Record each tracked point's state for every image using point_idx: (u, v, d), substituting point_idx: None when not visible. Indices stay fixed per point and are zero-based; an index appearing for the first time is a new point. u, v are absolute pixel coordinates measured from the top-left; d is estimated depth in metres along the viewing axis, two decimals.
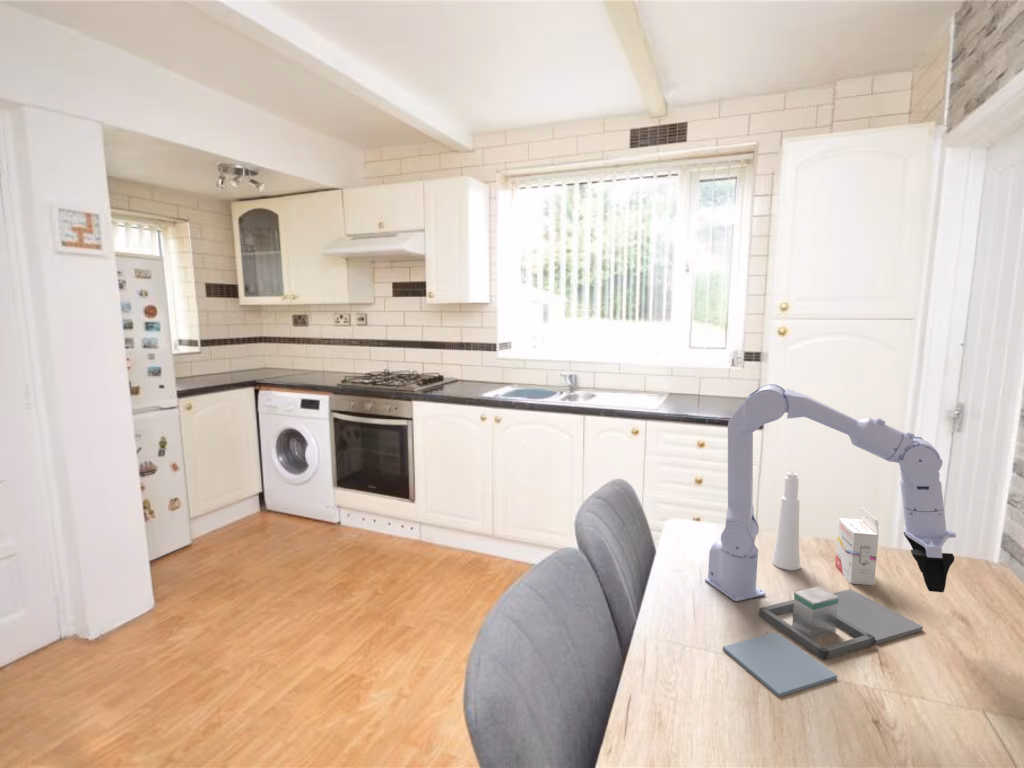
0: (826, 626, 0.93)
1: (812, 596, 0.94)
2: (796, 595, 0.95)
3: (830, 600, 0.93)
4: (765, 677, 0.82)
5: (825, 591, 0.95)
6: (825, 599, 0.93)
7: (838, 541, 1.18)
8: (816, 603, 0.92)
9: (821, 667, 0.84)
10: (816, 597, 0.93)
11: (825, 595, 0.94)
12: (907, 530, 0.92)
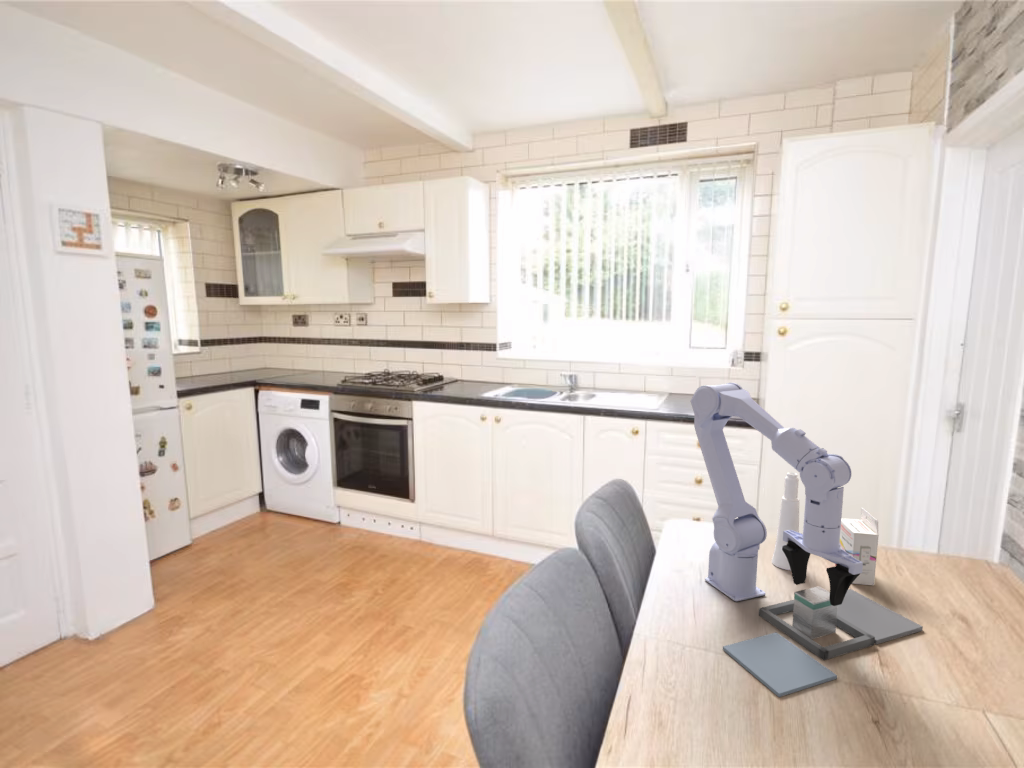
0: (826, 626, 0.93)
1: (812, 596, 0.94)
2: (796, 595, 0.95)
3: None
4: (765, 677, 0.82)
5: (825, 591, 0.95)
6: (825, 599, 0.93)
7: None
8: (816, 603, 0.92)
9: (821, 667, 0.84)
10: (816, 597, 0.93)
11: (825, 595, 0.94)
12: (813, 548, 0.91)
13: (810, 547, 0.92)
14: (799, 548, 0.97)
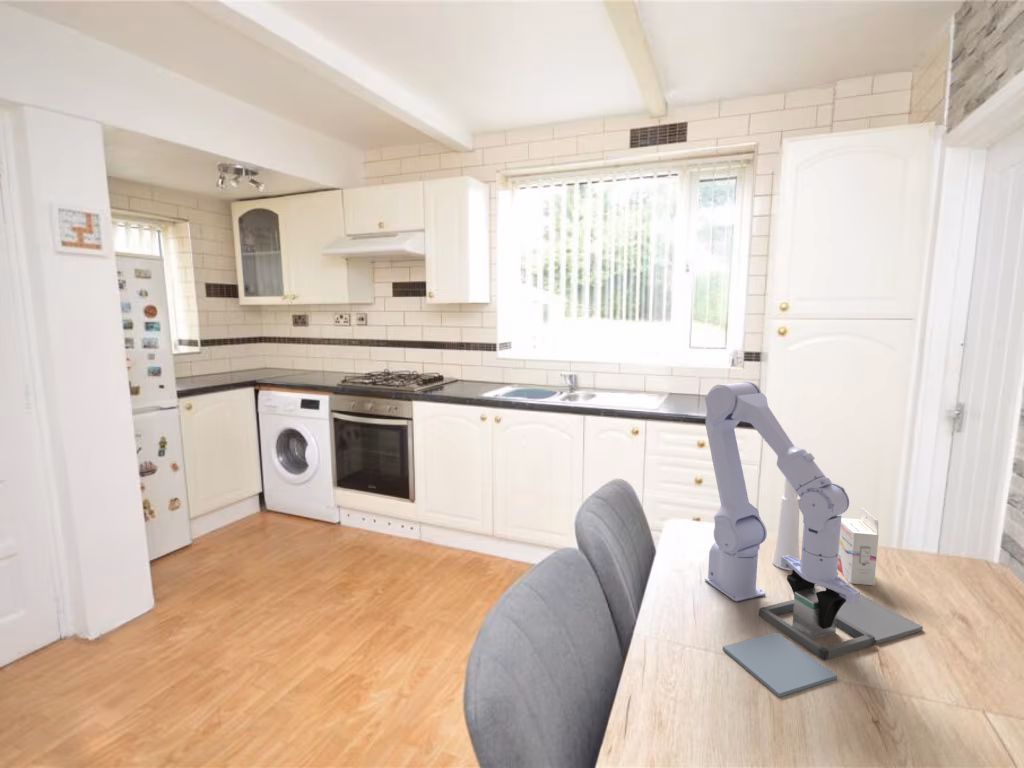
0: None
1: (812, 595, 0.94)
2: (796, 595, 0.95)
3: None
4: (765, 677, 0.82)
5: None
6: None
7: None
8: (816, 603, 0.92)
9: (821, 667, 0.84)
10: (816, 597, 0.93)
11: None
12: (811, 576, 0.92)
13: (808, 575, 0.92)
14: (804, 578, 0.96)
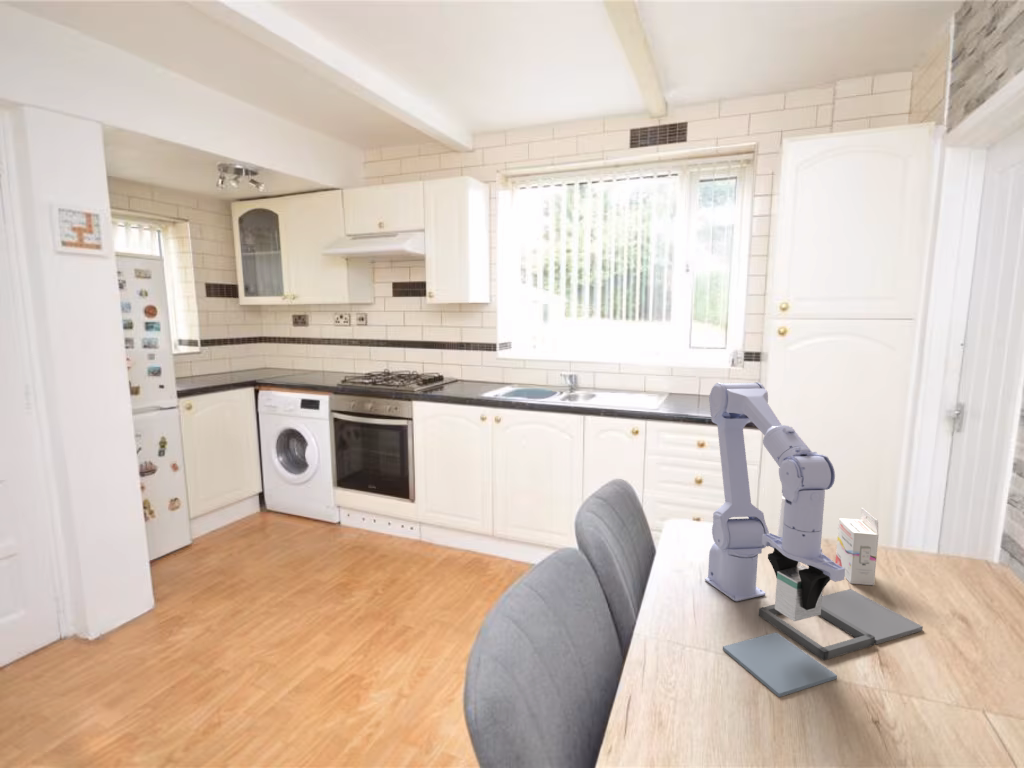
0: None
1: (796, 575, 0.87)
2: (779, 574, 0.88)
3: None
4: (765, 677, 0.82)
5: None
6: None
7: (838, 541, 1.18)
8: (800, 582, 0.85)
9: (821, 667, 0.84)
10: None
11: None
12: (793, 553, 0.85)
13: (790, 552, 0.86)
14: (786, 556, 0.89)
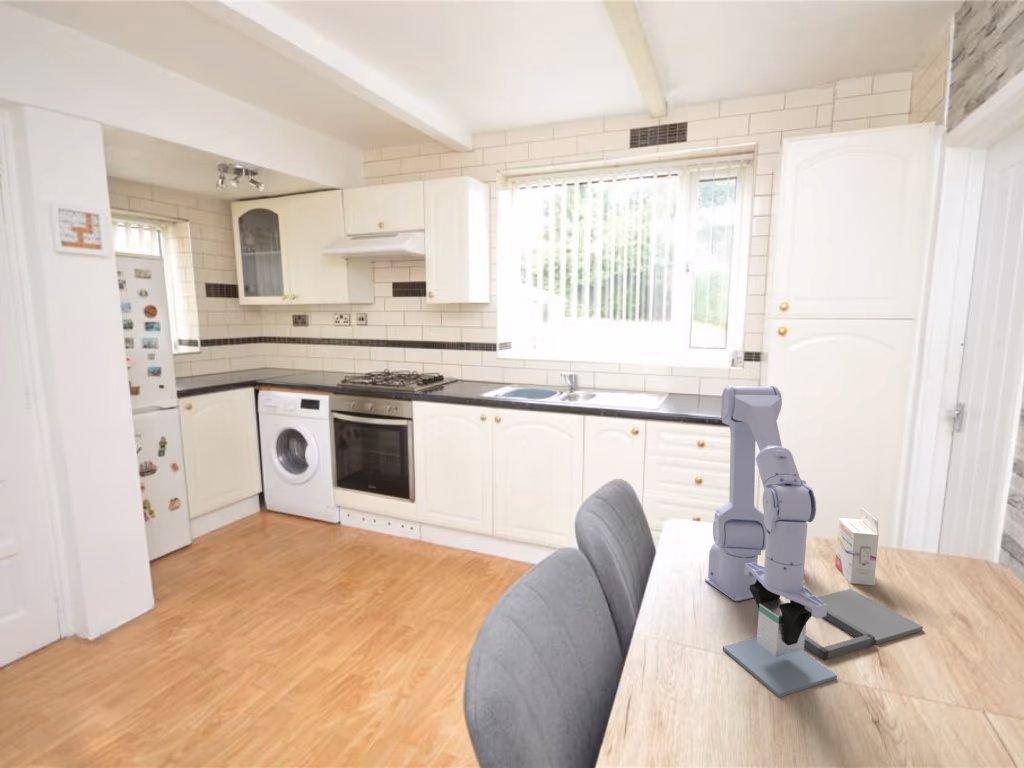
0: None
1: (779, 608, 0.84)
2: (761, 607, 0.85)
3: None
4: (765, 677, 0.82)
5: None
6: None
7: (838, 541, 1.18)
8: (782, 616, 0.82)
9: (821, 667, 0.84)
10: None
11: None
12: (774, 586, 0.82)
13: (771, 585, 0.83)
14: None
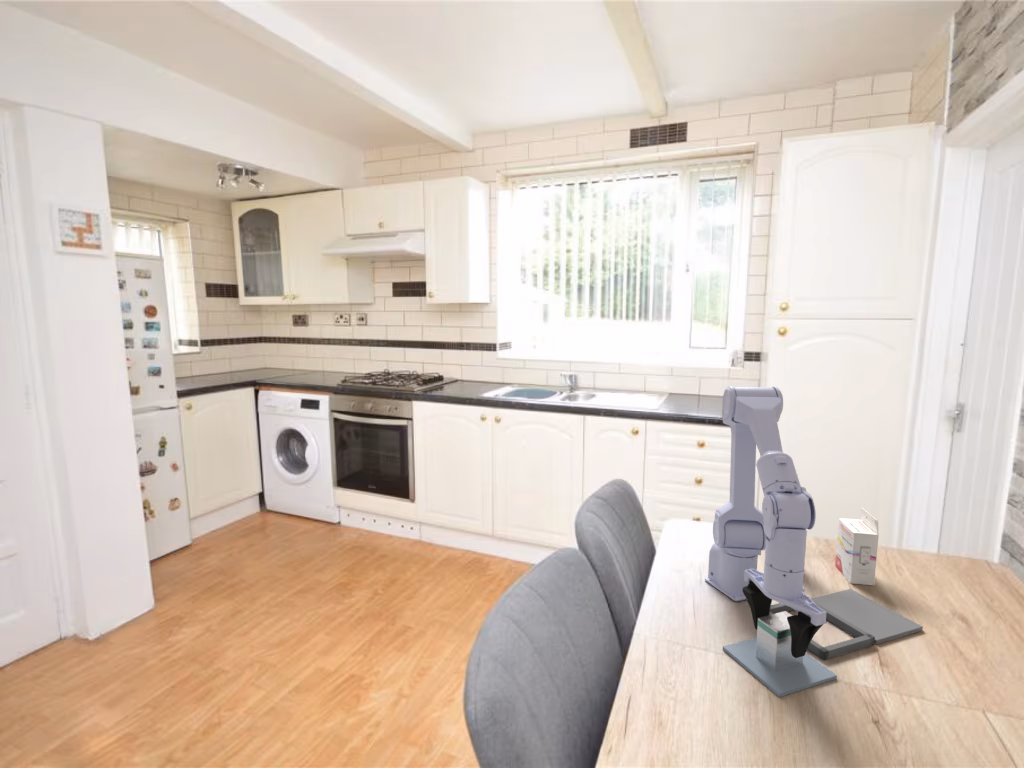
0: (792, 656, 0.84)
1: (777, 623, 0.84)
2: (759, 621, 0.86)
3: None
4: (765, 677, 0.82)
5: None
6: None
7: (838, 541, 1.18)
8: (780, 631, 0.82)
9: (821, 667, 0.84)
10: (781, 624, 0.84)
11: None
12: (774, 593, 0.82)
13: (770, 592, 0.83)
14: (760, 590, 0.88)
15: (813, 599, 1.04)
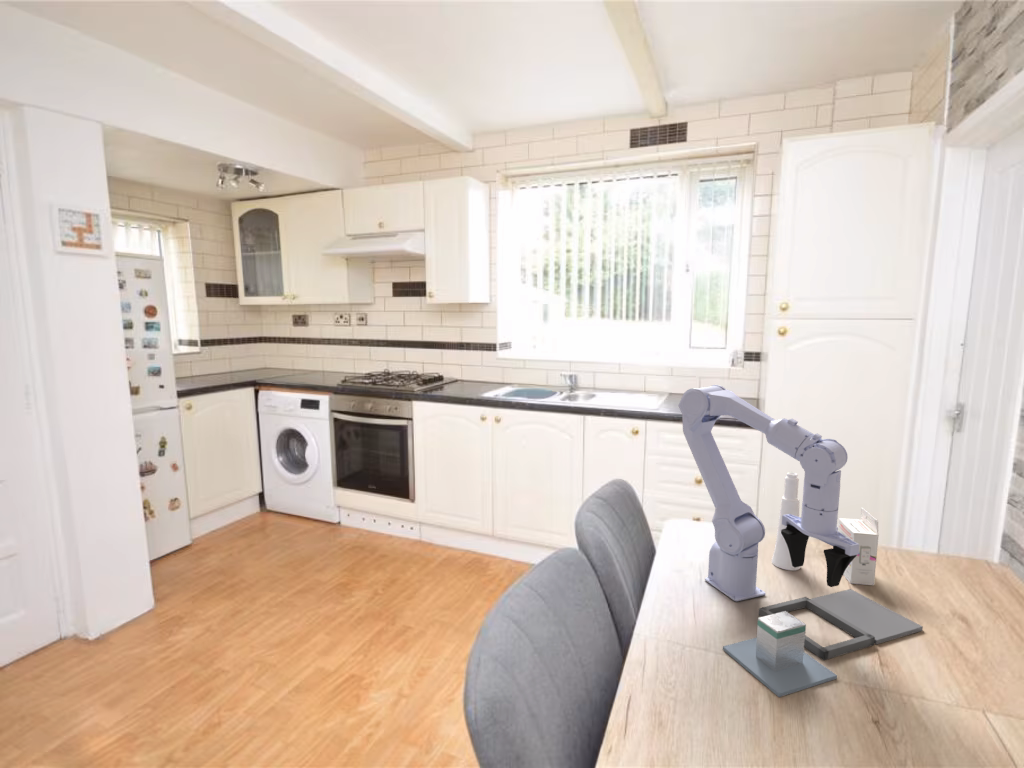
0: (792, 656, 0.84)
1: (777, 623, 0.84)
2: (759, 621, 0.86)
3: (796, 628, 0.83)
4: (765, 677, 0.82)
5: (792, 617, 0.86)
6: (791, 627, 0.83)
7: None
8: (780, 631, 0.82)
9: (821, 667, 0.84)
10: (781, 624, 0.84)
11: (791, 622, 0.85)
12: (811, 530, 0.93)
13: (808, 530, 0.94)
14: (797, 531, 0.99)
15: (813, 599, 1.04)
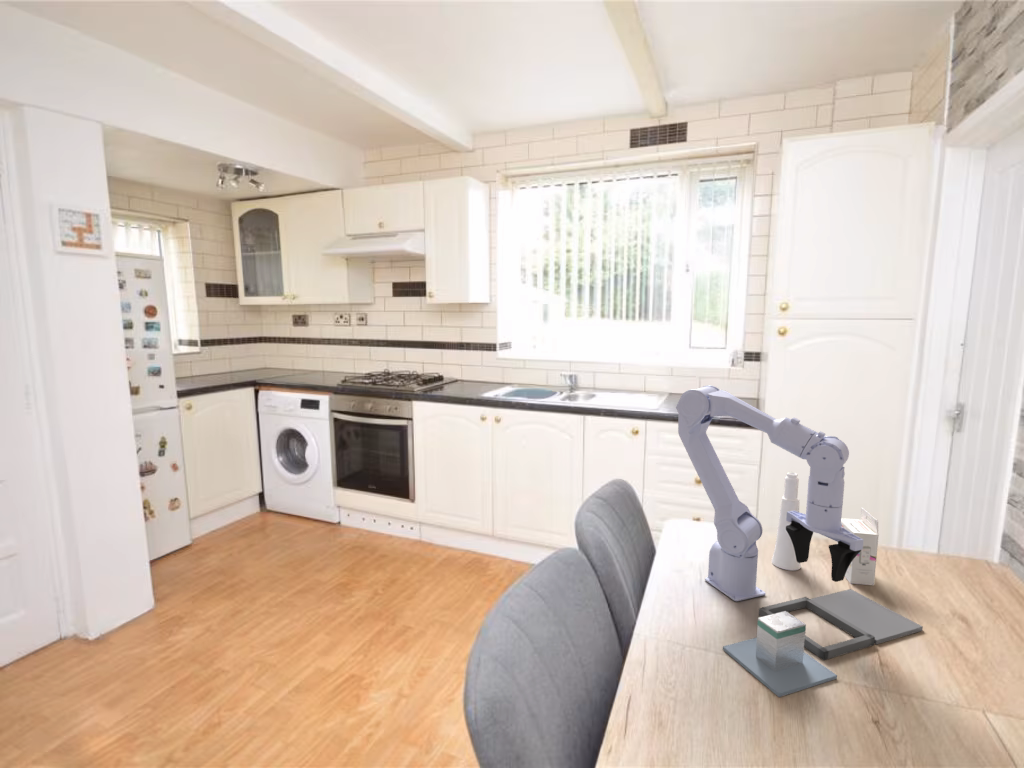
0: (792, 656, 0.84)
1: (777, 623, 0.84)
2: (759, 621, 0.86)
3: (796, 628, 0.83)
4: (765, 677, 0.82)
5: (792, 617, 0.86)
6: (791, 627, 0.83)
7: None
8: (780, 631, 0.82)
9: (821, 667, 0.84)
10: (781, 624, 0.84)
11: (791, 622, 0.85)
12: (816, 526, 0.95)
13: (813, 526, 0.96)
14: (802, 528, 1.01)
15: (813, 599, 1.04)
